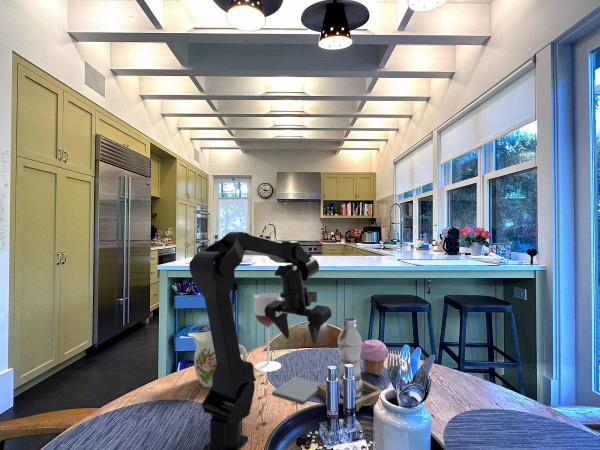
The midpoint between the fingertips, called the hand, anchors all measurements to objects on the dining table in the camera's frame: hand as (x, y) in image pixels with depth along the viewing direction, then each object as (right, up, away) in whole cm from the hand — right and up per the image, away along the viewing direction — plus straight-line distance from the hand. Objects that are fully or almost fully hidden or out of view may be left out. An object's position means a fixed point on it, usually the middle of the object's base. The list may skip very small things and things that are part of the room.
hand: (301, 340), depth 86 cm
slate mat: (-1, -14, 0) cm, 14 cm away
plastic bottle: (+13, -13, -4) cm, 19 cm away
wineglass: (-11, -15, +16) cm, 24 cm away
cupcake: (+23, -14, +10) cm, 29 cm away
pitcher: (-25, -14, +5) cm, 29 cm away
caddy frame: (+13, -13, -4) cm, 19 cm away
